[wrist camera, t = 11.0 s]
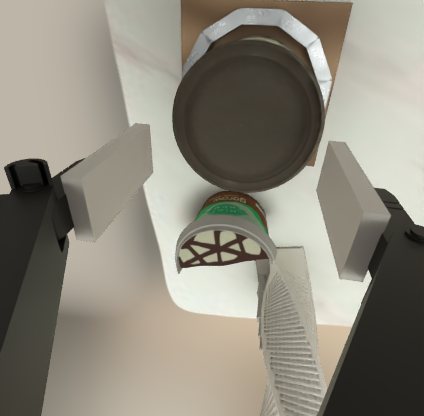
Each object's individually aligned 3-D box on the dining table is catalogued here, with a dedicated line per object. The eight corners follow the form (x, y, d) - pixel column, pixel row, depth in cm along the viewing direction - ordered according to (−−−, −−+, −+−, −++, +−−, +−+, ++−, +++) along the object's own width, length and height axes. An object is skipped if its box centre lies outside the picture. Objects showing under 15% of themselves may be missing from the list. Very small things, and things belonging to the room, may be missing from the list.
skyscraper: (253, 238, 44) (229, 487, 20) (310, 236, 42) (360, 509, 18) (258, 280, 48) (244, 528, 24) (311, 280, 46) (352, 549, 22)
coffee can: (235, 151, 36) (217, 212, 24) (191, 69, 32) (143, 94, 20) (320, 110, 32) (348, 159, 20) (280, 11, 28) (286, -1, 16)
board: (182, -2, 29) (180, -3, 29) (350, 3, 27) (352, 2, 27) (184, 150, 38) (183, 153, 37) (313, 163, 36) (313, 166, 35)
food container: (268, 174, 38) (266, 217, 29) (276, 215, 40) (277, 264, 32) (179, 191, 41) (155, 233, 33) (193, 227, 44) (174, 274, 36)
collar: (188, 7, 29) (180, 5, 27) (341, 13, 27) (348, 11, 25) (189, 147, 37) (183, 156, 34) (308, 159, 35) (311, 169, 32)
